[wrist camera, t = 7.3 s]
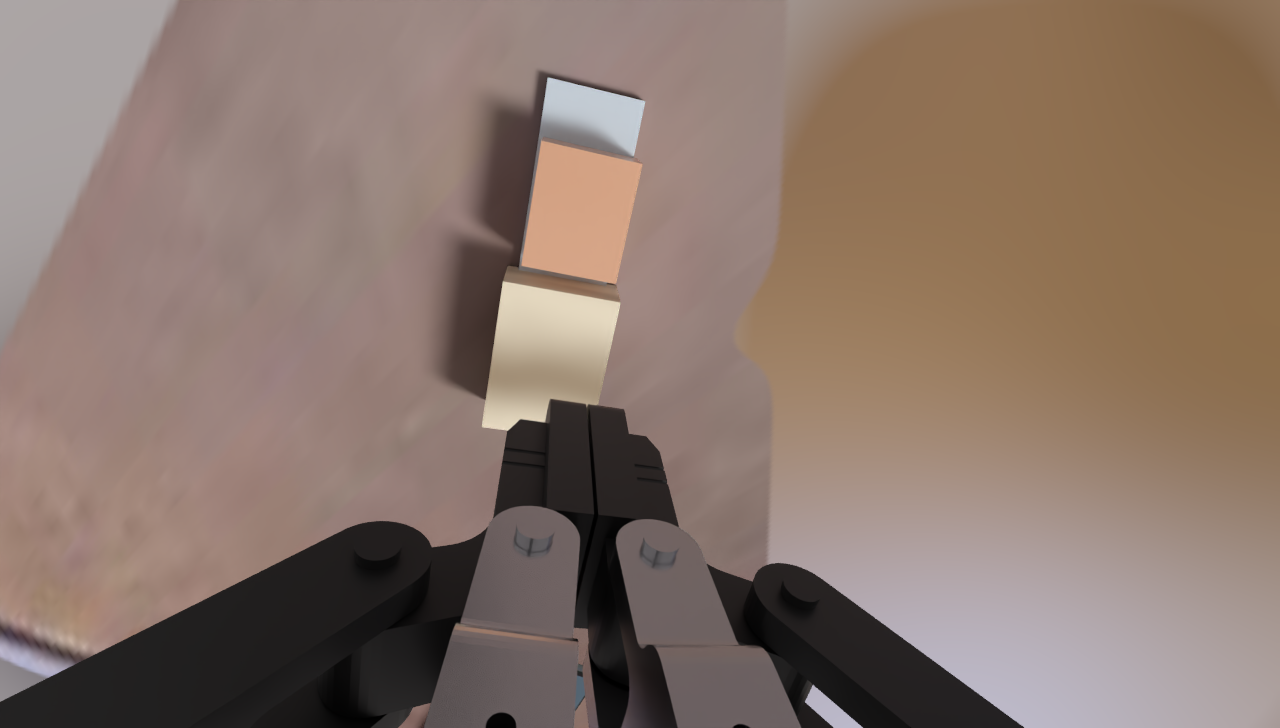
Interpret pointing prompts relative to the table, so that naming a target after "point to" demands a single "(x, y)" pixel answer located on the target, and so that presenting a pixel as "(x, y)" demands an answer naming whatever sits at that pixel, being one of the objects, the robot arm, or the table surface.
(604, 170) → the tile
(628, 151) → the mat
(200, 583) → the table surface
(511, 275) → the deck
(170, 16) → the table surface
